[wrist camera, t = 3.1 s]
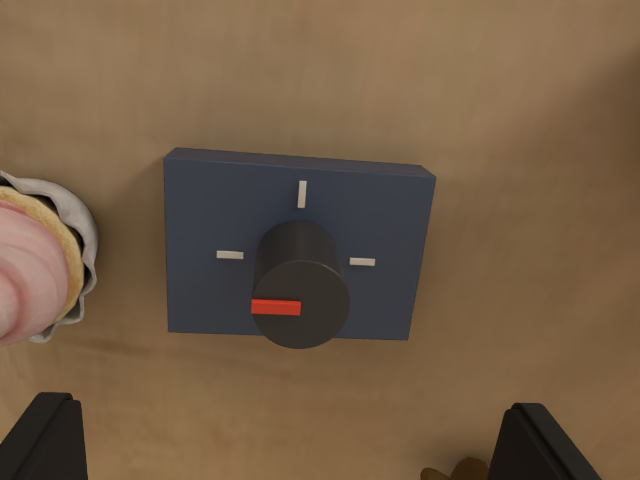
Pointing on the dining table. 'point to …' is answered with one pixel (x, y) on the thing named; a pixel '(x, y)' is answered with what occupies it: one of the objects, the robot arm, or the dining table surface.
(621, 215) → the dining table surface
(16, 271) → the cupcake
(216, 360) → the dining table surface
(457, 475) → the rolling pin
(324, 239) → the dial
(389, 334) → the dial panel
